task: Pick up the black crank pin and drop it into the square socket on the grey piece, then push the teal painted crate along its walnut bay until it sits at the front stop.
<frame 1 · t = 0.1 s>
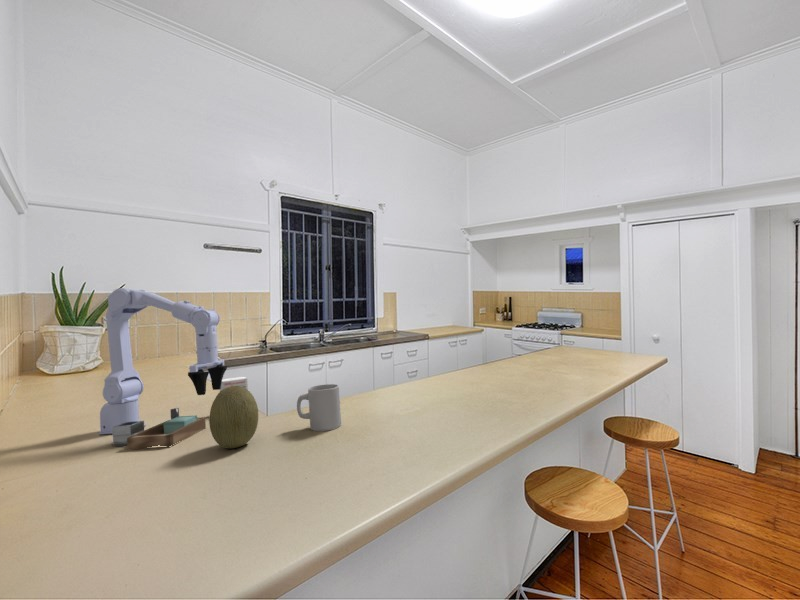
hand: (209, 392, 115), 10 cm above the counter, fingers open, 7 cm apart
bay: (169, 438, 103), on the counter
grey piece: (129, 442, 102), on the counter
ink box: (235, 413, 129), on the counter
fruit: (236, 447, 92), on the counter
mug: (319, 427, 103), on the counter
crate: (181, 433, 108), on the counter
crank pin: (175, 426, 115), on the counter
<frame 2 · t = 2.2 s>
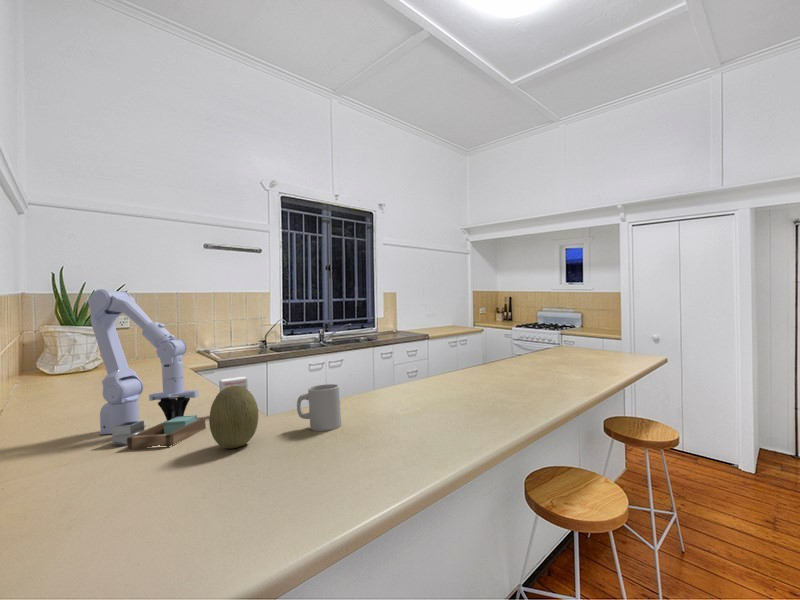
hand: (175, 422, 115), 1 cm above the counter, fingers closed on crank pin, 2 cm apart
crank pin: (175, 426, 115), on the counter, touching gripper
everything else where it was.
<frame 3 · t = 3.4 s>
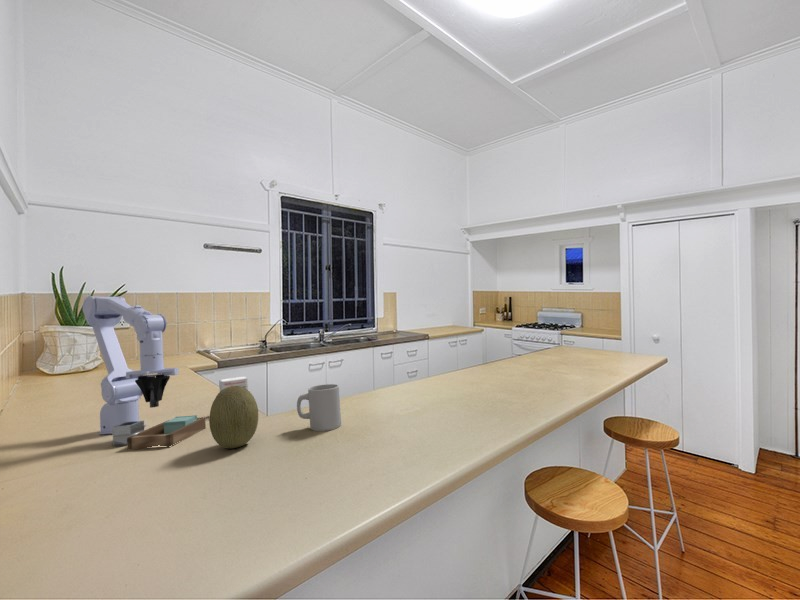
hand: (153, 401, 110), 9 cm above the counter, fingers closed on crank pin, 2 cm apart
crank pin: (154, 406, 110), point 8 cm above the counter, touching gripper
everything else where it was.
when the fingers open (5 cm above the counter, at t = 4.8 s): crank pin drops 1 cm, resting on grey piece.
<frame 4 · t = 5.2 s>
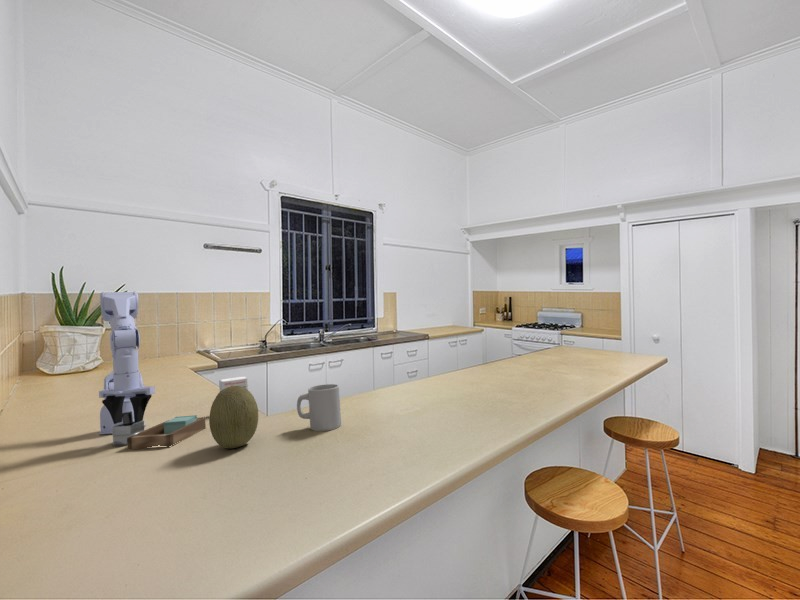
hand: (128, 422, 103), 5 cm above the counter, fingers open, 5 cm apart
crank pin: (129, 432, 103), point 3 cm above the counter, touching grey piece
everything else where it was.
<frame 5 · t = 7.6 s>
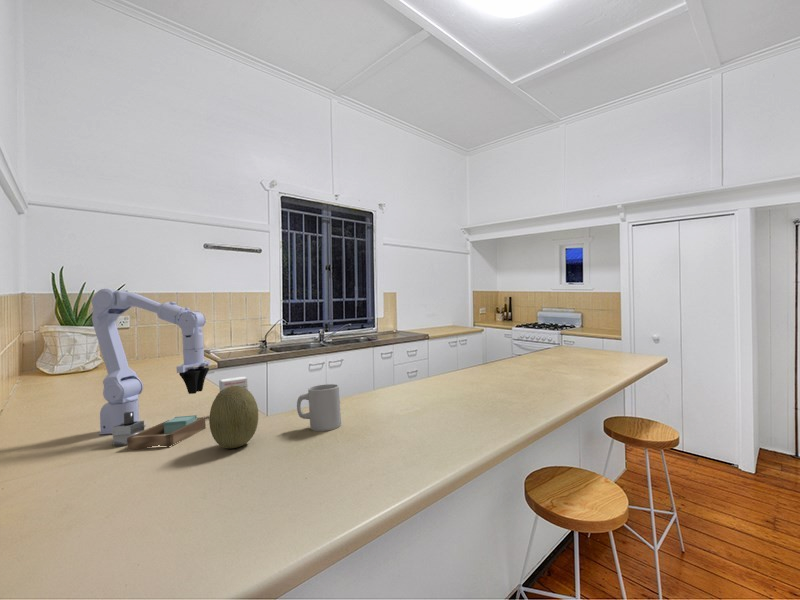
hand: (195, 392, 117), 10 cm above the counter, fingers open, 3 cm apart
nothing on the counter moved.
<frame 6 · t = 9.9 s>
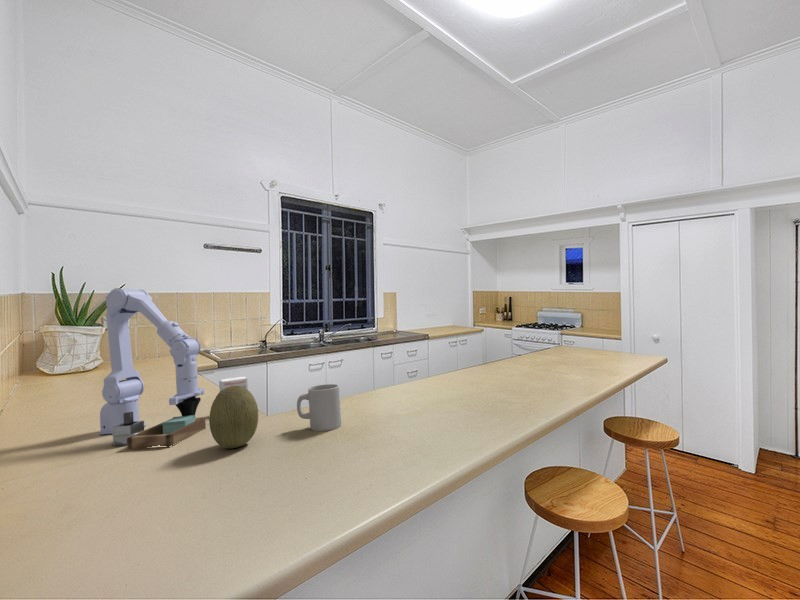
hand: (189, 423, 112), 1 cm above the counter, fingers closed
crate: (179, 433, 108), on the counter, touching gripper
everything else where it was.
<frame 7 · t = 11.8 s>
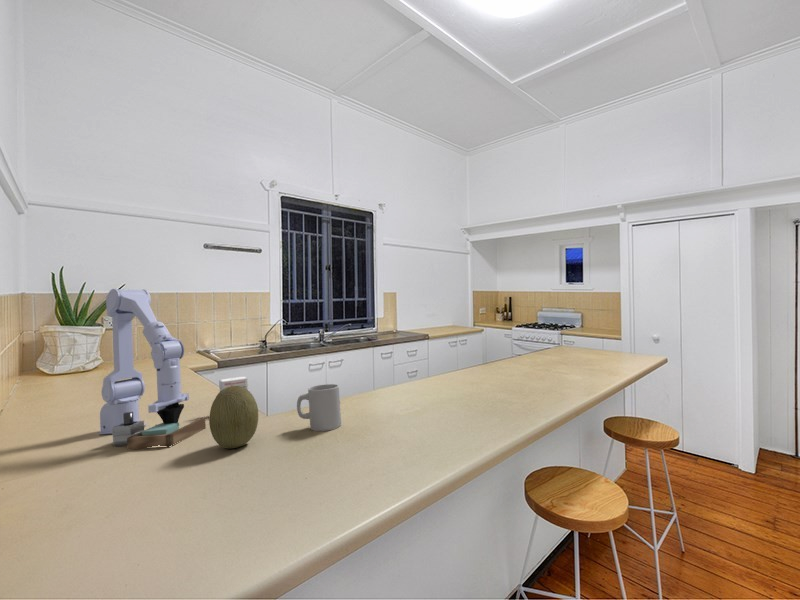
hand: (171, 431, 104), 1 cm above the counter, fingers closed
crate: (161, 442, 100), on the counter, touching bay, gripper
everything else where it was.
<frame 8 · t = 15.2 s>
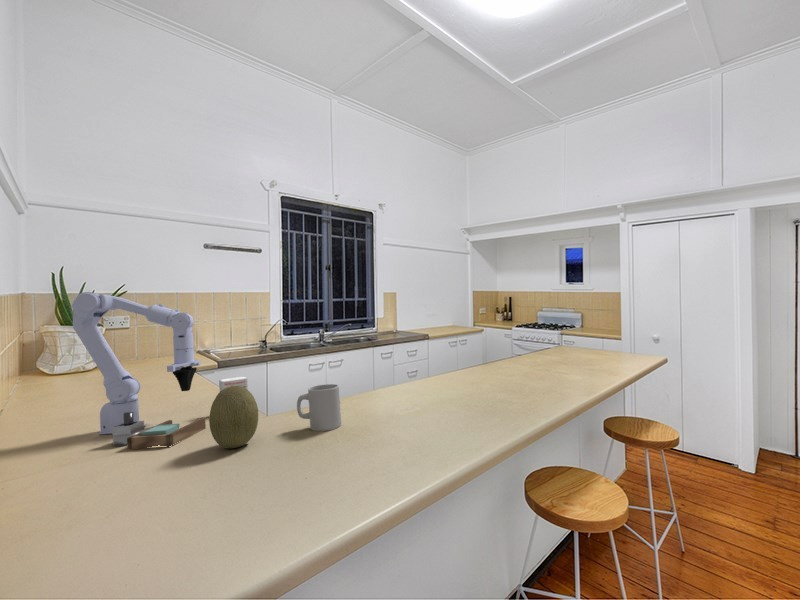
hand: (185, 390, 122), 10 cm above the counter, fingers closed
crate: (161, 443, 100), on the counter
everything else where it was.
at the end: crate 0.5 cm from the target spot, on the counter; crank pin 0.1 cm off-centre on the grey piece, point 2.5 cm above the grey piece's base; crank pin tilted 0° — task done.
